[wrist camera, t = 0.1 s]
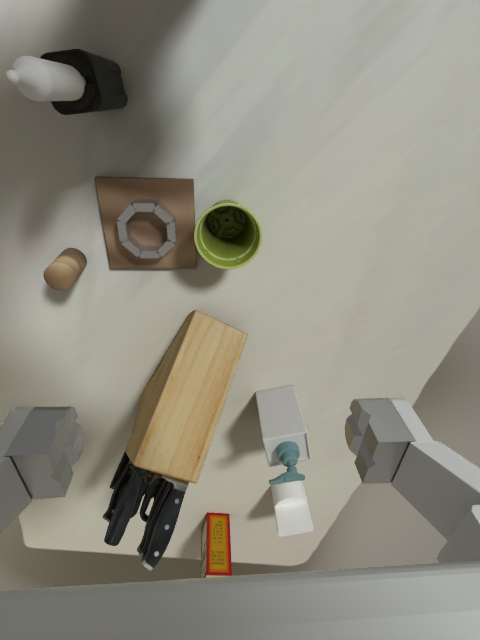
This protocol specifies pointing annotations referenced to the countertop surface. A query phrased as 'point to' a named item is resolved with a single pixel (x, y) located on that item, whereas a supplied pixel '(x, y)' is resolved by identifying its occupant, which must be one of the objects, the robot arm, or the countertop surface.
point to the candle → (70, 81)
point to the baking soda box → (216, 546)
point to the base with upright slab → (291, 508)
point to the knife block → (173, 431)
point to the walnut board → (148, 219)
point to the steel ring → (132, 242)
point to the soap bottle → (283, 431)
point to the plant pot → (226, 247)
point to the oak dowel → (65, 269)
